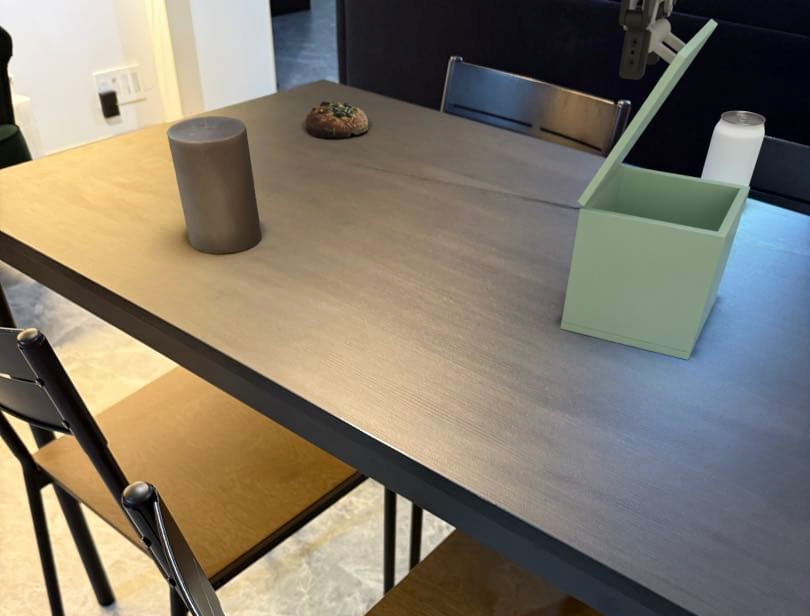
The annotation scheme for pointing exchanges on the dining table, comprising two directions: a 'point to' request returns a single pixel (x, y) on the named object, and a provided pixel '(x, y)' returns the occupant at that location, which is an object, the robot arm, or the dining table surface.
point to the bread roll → (336, 120)
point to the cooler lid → (652, 94)
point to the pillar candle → (215, 183)
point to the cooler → (651, 258)
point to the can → (734, 148)
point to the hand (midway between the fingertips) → (639, 69)
